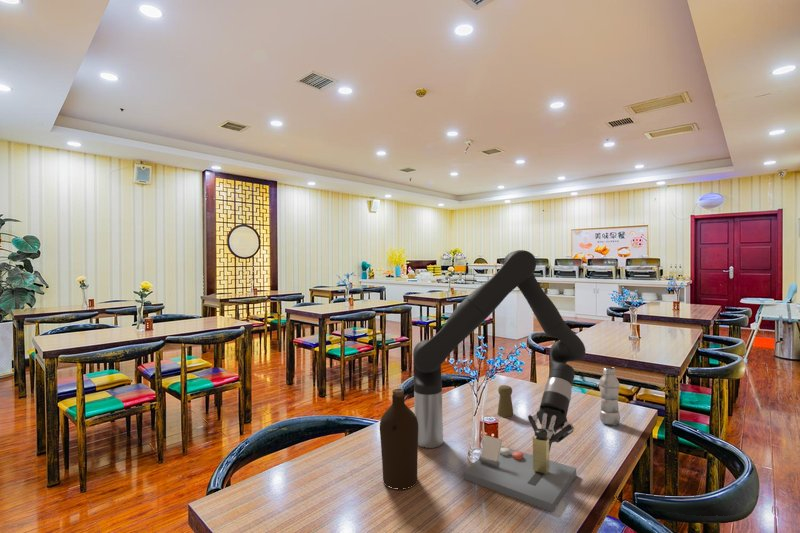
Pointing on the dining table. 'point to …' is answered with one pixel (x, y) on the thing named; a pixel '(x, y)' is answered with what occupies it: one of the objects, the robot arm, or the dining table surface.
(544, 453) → the slide lever
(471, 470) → the control board
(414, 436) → the olive oil
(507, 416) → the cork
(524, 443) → the dining table surface
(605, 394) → the plastic bottle
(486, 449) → the cream rectangular block
